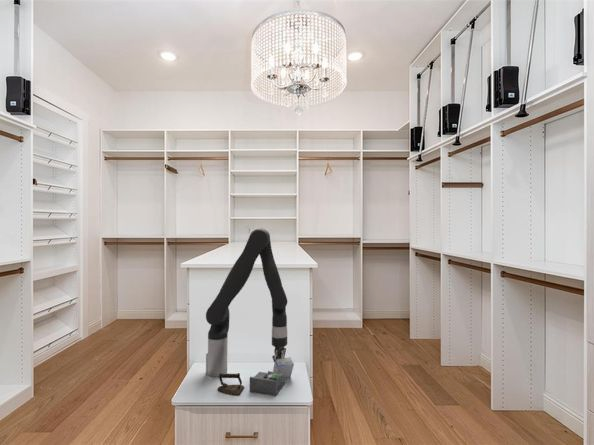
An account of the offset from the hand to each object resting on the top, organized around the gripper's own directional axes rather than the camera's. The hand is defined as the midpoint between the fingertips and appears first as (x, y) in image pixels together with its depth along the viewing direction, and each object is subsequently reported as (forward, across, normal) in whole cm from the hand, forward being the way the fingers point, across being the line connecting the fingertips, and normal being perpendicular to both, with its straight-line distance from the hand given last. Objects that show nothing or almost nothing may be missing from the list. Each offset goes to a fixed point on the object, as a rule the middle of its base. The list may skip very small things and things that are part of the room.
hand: (279, 371), depth 160 cm
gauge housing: (+2, +15, 0) cm, 15 cm away
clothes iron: (+2, +22, -15) cm, 26 cm away
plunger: (0, +13, +1) cm, 13 cm away
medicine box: (+1, +3, +2) cm, 3 cm away
